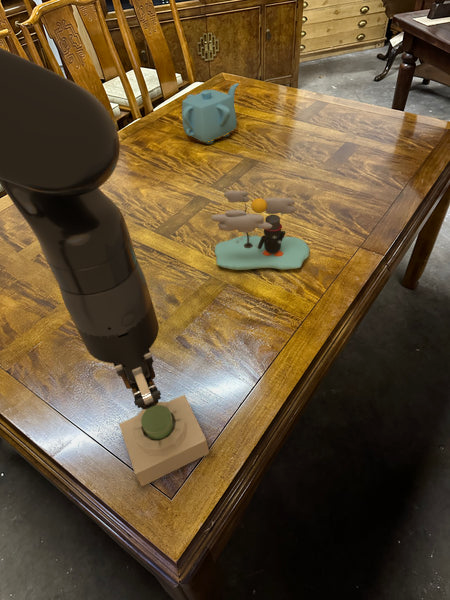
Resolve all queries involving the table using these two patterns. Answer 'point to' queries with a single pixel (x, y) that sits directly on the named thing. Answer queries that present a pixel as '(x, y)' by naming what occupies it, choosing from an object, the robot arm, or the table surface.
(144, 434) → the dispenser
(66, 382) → the table surface
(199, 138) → the teapot
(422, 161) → the table surface
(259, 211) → the penguin figurine
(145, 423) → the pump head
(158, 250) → the table surface
